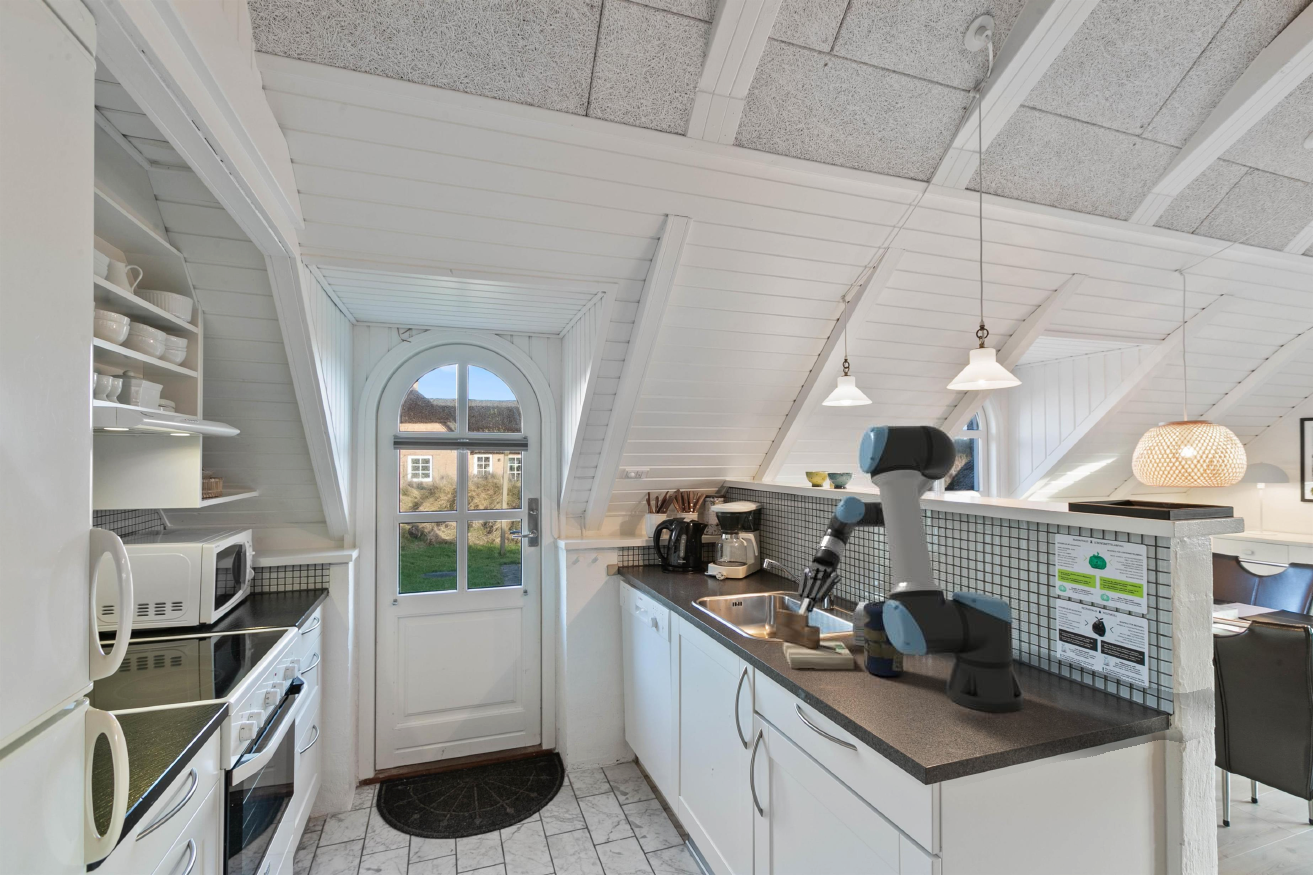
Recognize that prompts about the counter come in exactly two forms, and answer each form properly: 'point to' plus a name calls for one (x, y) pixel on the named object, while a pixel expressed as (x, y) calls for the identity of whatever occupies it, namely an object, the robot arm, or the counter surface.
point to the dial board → (819, 655)
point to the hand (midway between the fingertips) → (800, 619)
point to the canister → (879, 643)
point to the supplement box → (858, 624)
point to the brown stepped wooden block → (798, 629)
